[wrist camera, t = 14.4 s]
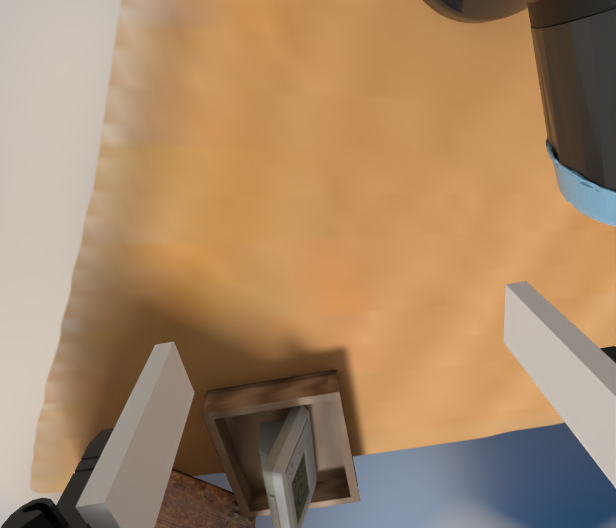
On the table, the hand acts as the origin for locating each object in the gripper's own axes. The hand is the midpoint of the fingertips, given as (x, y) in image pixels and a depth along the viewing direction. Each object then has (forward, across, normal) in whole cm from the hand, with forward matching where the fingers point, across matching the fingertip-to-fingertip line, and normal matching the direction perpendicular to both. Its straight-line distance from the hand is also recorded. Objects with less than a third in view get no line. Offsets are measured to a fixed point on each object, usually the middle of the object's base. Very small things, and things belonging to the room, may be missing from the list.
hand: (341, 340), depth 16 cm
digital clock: (+28, -9, -37) cm, 48 cm away
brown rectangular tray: (+29, -10, -37) cm, 48 cm away
